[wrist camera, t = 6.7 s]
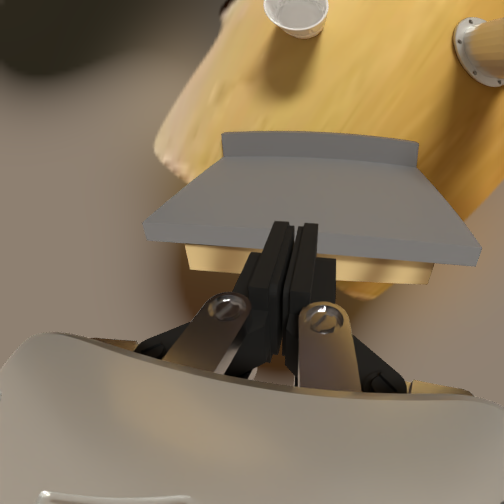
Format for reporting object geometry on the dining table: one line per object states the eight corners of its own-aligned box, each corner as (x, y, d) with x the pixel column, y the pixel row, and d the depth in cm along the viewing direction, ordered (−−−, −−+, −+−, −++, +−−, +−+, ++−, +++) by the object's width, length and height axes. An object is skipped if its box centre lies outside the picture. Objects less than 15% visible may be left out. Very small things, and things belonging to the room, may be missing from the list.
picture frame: (394, 189, 37) (435, 259, 22) (392, 208, 39) (427, 284, 24) (233, 181, 42) (184, 244, 27) (235, 200, 44) (190, 269, 29)
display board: (416, 141, 38) (494, 206, 17) (409, 197, 43) (461, 299, 22) (224, 132, 45) (133, 184, 24) (229, 186, 51) (156, 272, 30)
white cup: (322, 47, 34) (320, 37, 26) (272, 36, 34) (257, 23, 26) (333, 6, 29) (334, -13, 21) (282, -5, 30) (270, -25, 22)
